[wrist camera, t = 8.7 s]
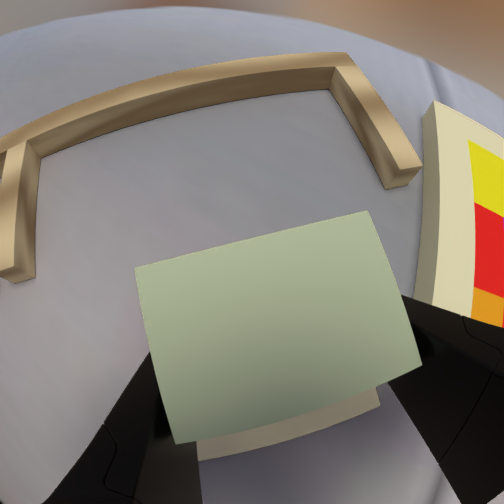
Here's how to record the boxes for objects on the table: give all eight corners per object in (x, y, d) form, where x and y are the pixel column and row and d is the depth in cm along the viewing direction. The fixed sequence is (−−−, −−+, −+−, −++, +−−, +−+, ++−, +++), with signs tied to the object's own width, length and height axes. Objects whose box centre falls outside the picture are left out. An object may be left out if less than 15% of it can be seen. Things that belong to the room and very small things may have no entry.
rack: (407, 184, 20) (422, 165, 18) (-58, 307, 16) (-77, 300, 13) (339, 73, 24) (345, 52, 21) (-45, 186, 19) (-59, 174, 17)
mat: (377, 404, 15) (380, 405, 15) (186, 461, 14) (184, 463, 14) (320, 227, 19) (322, 224, 18) (138, 273, 17) (136, 271, 17)
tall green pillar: (314, 366, 15) (422, 365, 5) (219, 392, 15) (175, 444, 5) (295, 302, 16) (367, 210, 7) (201, 327, 16) (134, 267, 6)
